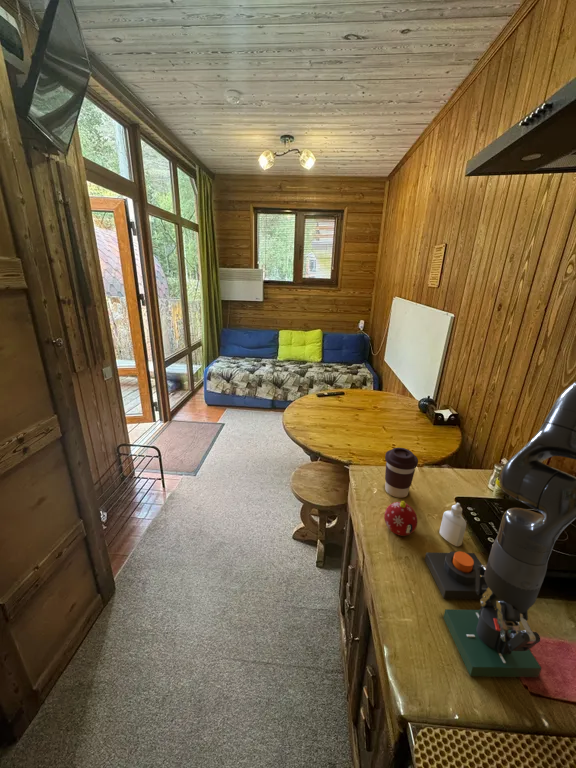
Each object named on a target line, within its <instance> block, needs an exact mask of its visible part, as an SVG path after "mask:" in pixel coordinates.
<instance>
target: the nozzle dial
mask: <svg viewBox="0 0 576 768" xmlns="http://www.w3.org/2000/svg"><path fill="white" fill-rule="evenodd" d="M497 613H498V612H497V609H496V608H495V609H493V608H484V609H482V611H481V614H480V618H479V621H478V625H477V628H476V631H477V634H478V636H479V638H480V639H481V641H482V642H483V643H485V644H486V645H487V646H489V647H491V648H493V649H495V646H496V643H497V640H498V637H499V635H500V626H499V624H498V623H497ZM508 631H509V630H508ZM508 631H507V633H508Z"/></svg>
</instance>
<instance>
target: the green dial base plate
mask: <svg viewBox="0 0 576 768" xmlns="http://www.w3.org/2000/svg"><path fill="white" fill-rule="evenodd" d="M479 612H480V609H448V608H447V609H445V610H444V613H443V620H444V623H445V625H446V627H447V629H448V631H449V633H450V636H451V638H452V640H453V642H454V644H455V646H456V648H457V650H458V653H459V654H460V657H461V659H462V661H463V663H464V666H465V668H466V671H467V672H468V675H469V676H470V677H498V678H499V677H501V678H502V677H503V678H504V677H505V678H506V677H507V678H508V677H509V678H539V676H540V675H541V671H542V666H541V665H540V663H539V662H538V660H537V659H536V657H535V656H534V654H533V653H532V651H531V649H529V650H527V651H512V652H511V654H501V653H498V652H497V651H496V649H493V648H491V647H489V646H487V645H486V644H485V643H483V642H482V641H481V639H480V638H479V636H478V634H477V631H476V628H477V625H478V621H479ZM508 633H511V630H509V631H508Z"/></svg>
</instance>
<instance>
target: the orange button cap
mask: <svg viewBox="0 0 576 768" xmlns="http://www.w3.org/2000/svg"><path fill="white" fill-rule="evenodd" d="M454 552H455V553H454V557H453V565H454V567H455V568H457V569H458V570H459V571H462V572H464V573H470V572H471V571H472V568H473V565H474V561H473V559H472V557H471V556H469V555H468V554H466V553H467V552H465V551H454Z"/></svg>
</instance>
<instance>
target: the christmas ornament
mask: <svg viewBox="0 0 576 768" xmlns="http://www.w3.org/2000/svg"><path fill="white" fill-rule="evenodd" d="M384 522H385V524H386V527H387V528H388V530H390V532H392V533H393V534H395V535H397V536H403V537H405V536H409V535H411V534H412V533H414V532H415V530H416V529H417V526H418V516H417V513H416V511H415V510H414V509H413V507H412V506H410V504H408V503H406V502H405V500H401V501H394V502H391V503H390V504H388V506H387V507H386V508H385V511H384Z"/></svg>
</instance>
